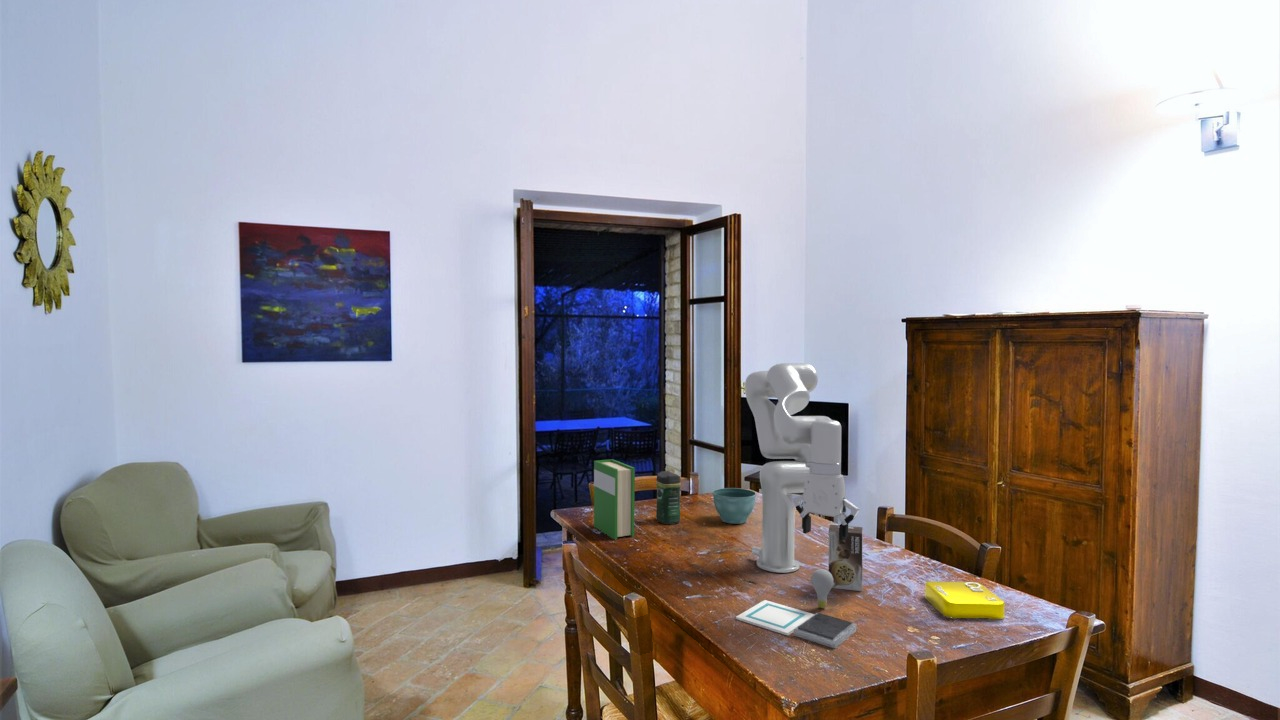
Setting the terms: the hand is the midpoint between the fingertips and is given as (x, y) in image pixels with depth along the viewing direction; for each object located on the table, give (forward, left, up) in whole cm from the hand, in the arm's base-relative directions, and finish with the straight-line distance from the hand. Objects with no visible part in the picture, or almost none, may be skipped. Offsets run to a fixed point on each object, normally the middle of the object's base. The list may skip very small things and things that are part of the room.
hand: (824, 535), depth 171 cm
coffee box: (-2, +19, -19) cm, 27 cm away
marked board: (-6, -13, -19) cm, 24 cm away
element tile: (+27, +25, -19) cm, 41 cm away
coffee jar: (-79, +38, -19) cm, 90 cm away
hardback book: (-86, +14, -19) cm, 89 cm away
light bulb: (0, 0, -19) cm, 19 cm away
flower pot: (-61, +55, -19) cm, 84 cm away
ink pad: (+7, -13, -19) cm, 24 cm away
